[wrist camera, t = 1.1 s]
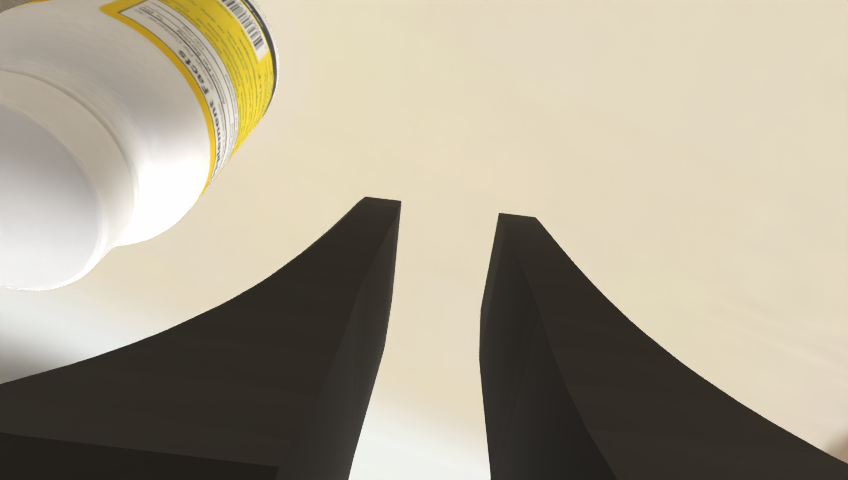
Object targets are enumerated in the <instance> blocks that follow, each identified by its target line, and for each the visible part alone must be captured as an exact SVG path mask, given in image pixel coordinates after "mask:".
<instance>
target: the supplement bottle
mask: <svg viewBox="0 0 848 480" xmlns="http://www.w3.org/2000/svg"><path fill="white" fill-rule="evenodd" d="M278 78H279V55H278V49H277V44H276V41H275V37H274V34H273V32H272V29H271V27H270V25H269V23H268V21H267V19H266V17H265V15H264V14H263V12H262V10H261V9H260V8H259V6H258V5H257V4H256V2H255V1H254V0H34V1H31V2H28V3H25V4H21V5H18V6H15V7H13V8H10V9H8V10H5V11H3V12H1V13H0V286H2V287H6V288H11V289H18V290H48V289H53V288H58V287H61V286H65V285H67V284H69V283H71V282H74V281H76V280H78V279H79V278H81V277H83V276H84V275H86V274H87V273H88V272H89V271H90V270H91V269H92V268H93V267H94V266H95V265H96V264H97V263H98V262H99V261H100V260H101V259H102V258H103V257H104V256H105V255H106V254H107V253H108V252H109V251H110V250H111V249H112V248H113V247H114V246H121V245H129V244H134V243H137V242H141V241H144V240H147V239H150V238H152V237H155V236H157V235H158V234H160V233H162V232H164V231H166V230H167V229H169V228H170V227H171V226H173V225H174V224H175V223H176V222H177V221H179V220H180V219H181V218H182V217H183V216H184V215H185V214H186V213H187V211H188V210H189V209H190V208H191V207H192V206H193V205H194V204H195V203H196V201H197V200H198V199H199V197H200V196H201V195H202V194H203V192H204V191H205V190H206V189H207V187H208V186H209V185H210V183H211V182H212V181H213V180H214V178H215V177H216V176H217V175H218V173H219V172H220V171H221V169H222V168H223V167H224V166H225V164H226V163H227V162H228V161H229V159H230V158H231V157H232V155H233V154H234V153H235V152H236V150H237V149H238V148H239V147H240V145H241V144H242V143H243V141H244V140H245V139H246V138H247V136H248V135H249V134H250V133H251V131H252V130H253V129H254V127H255V126H256V125H257V124H258V122H259V121H260V119H261V118H262V117H263V115H264V114H265V112H266V111H267V109H268V107H269V106H270V104H271V102H272V99H273V97H274V95H275V92H276V88H277V84H278Z"/></svg>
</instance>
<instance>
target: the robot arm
mask: <svg viewBox="0 0 848 480" xmlns="http://www.w3.org/2000/svg"><path fill="white" fill-rule="evenodd" d="M400 210H401V201H397V200H388V199H380V198H372V197H365V198H363V199H362V200H360V201H359V202H358V203H357V204H356V205H355V206H354V207H353V208H352V209H351V210H350V211H349V212H348V213H347V214H346V215H345V216H344V217H342V218H341V219H340V220H339V221H338V222H337V223H336V224H335V225H334V226H333V227H332V228H331V229H329V230H328V231H327V232H326V233H325V234H324V235H322V236H321V237H320V238H319V239H318V240H317V241H315V242H314V243H313V244H312V245H311V246H309V247H308V248H307V249H306V250H305V251H303V252H302V253H301V254H299V255H298V256H297V257H295V258H294V259H293V260H291V261H290V262H289V263H287V264H286V265H285V266H283V267H282V268H280V269H279V270H278V271H276V272H275V273H274V274H272V275H271V276H269V277H268V278H266V279H265V280H263V281H262V282H260V283H258V284H257V285H255V286H254V287H252V288H250V289H248V290H247V291H245V292H243V293H241V294H240V295H238V296H236V297H234V298H233V299H231V300H229V301H227V302H225V303H223V304H221V305H219V306H217V307H215V308H213V309H211V310H209V311H207V312H204V313H202V314H200V315H198V316H196V317H194V318H192V319H189V320H187V321H185V322H183V323H181V324H179V325H176V326H174V327H172V328H170V329H168V330H165V331H163V332H161V333H158V334H156V335H153V336H150V337H148V338H145V339H143V340H140V341H138V342H135V343H132V344H130V345H127V346H124V347H121V348H118V349H116V350H113V351H110V352H107V353H104V354H101V355H98V356H96V357H93V358H89V359H86V360H83V361H80V362H77V363H74V364H71V365H67V366H64V367H60V368H56V369H53V370H49V371H46V372H42V373H39V374H35V375H31V376H28V377H24V378H21V379H17V380H14V381H10V382H6V383H3V384H0V480H348V479H349V474H350V470H351V466H352V462H353V457H354V454H355V450H356V447H357V443H358V440H359V436H360V433H361V429H362V425H363V422H364V418H365V415H366V411H367V408H368V404H369V401H370V397H371V394H372V390H373V387H374V383H375V379H376V376H377V372H378V369H379V365H380V362H381V358H382V354H383V351H384V347H385V341H386V334H387V328H388V322H389V315H390V309H391V302H392V294H393V283H394V273H395V262H396V252H397V241H398V231H399V220H400ZM479 362H480V373H481V383H482V394H483V404H484V414H485V423H486V433H487V443H488V453H489V463H490V473H491V480H848V464H847V463H845V462H843V461H841V460H838V459H837V458H835V457H833V456H831V455H829V454H827V453H825V452H824V451H822V450H820V449H818V448H816V447H815V446H813V445H811V444H809V443H808V442H806V441H804V440H802V439H800V438H799V437H797V436H795V435H793V434H792V433H790V432H788V431H786V430H785V429H783V428H781V427H779V426H777V425H776V424H774V423H772V422H771V421H769V420H767V419H766V418H764V417H762V416H761V415H759V414H757V413H756V412H754V411H753V410H751V409H749V408H748V407H746V406H744V405H743V404H741V403H740V402H738V401H737V400H735V399H734V398H732V397H731V396H729V395H728V394H726V393H725V392H723V391H722V390H720V389H719V388H717V387H716V386H714V385H713V384H711V383H710V382H708V381H707V380H705V379H704V378H702V377H701V376H699V375H698V374H697V373H695V372H694V371H693V370H691V369H690V368H688V367H687V366H686V365H684V364H683V363H682V362H680V361H679V360H678V359H676V358H675V357H674V356H672V355H671V354H670V353H669V352H667V351H666V350H665V349H664V348H663V347H661V346H660V345H659V344H658V343H656V342H655V341H654V340H653V339H651V338H650V337H649V336H648V335H646V334H645V333H644V332H643V331H642V330H641V329H639V328H638V327H637V326H636V325H635V324H634V323H633V322H631V321H630V320H629V319H628V318H627V317H626V316H625V315H624V314H623V313H622V312H621V311H620V310H619V309H618V308H617V307H616V306H615V305H614V304H613V303H611V302H610V301H609V300H608V299H607V298H606V297H605V296H604V295H603V294H602V293H601V292H600V291H599V290H598V289H597V288H596V286H595V285H594V284H593V283H592V282H591V281H590V280H589V279H588V278H587V277H586V276H585V275H584V274H583V273H582V271H581V270H580V269H579V268H578V267H577V266H576V265H575V264H574V262H573V261H572V260H571V259H570V258H569V257H568V255H567V254H566V253H565V252H564V251H563V250H562V248H561V247H560V246H559V245H558V244H557V242H556V241H555V240H554V239H553V238H552V236H551V235H550V234H549V233H548V231H547V230H546V229H545V228H544V227H543V225H542V224H541V223H540V222H539V221H538V220H537V219H536V218H535V217H528V216H520V215H512V214H504V213H499V216H498V222H497V227H496V232H495V237H494V243H493V248H492V253H491V258H490V264H489V269H488V274H487V279H486V285H485V290H484V295H483V300H482V306H481V316H480V348H479Z"/></svg>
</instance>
